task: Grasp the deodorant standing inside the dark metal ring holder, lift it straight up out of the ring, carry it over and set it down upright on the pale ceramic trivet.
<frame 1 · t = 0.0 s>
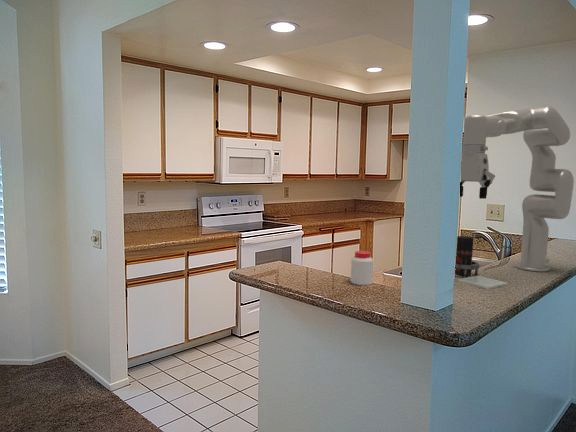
hand: (470, 197, 161), 31 cm above the countertop, fingers open, 9 cm apart
pill bottle: (361, 282, 160), on the countertop
deodorant: (462, 275, 174), on the countertop
ring stand: (462, 274, 174), on the countertop
trivet: (482, 283, 162), on the countertop
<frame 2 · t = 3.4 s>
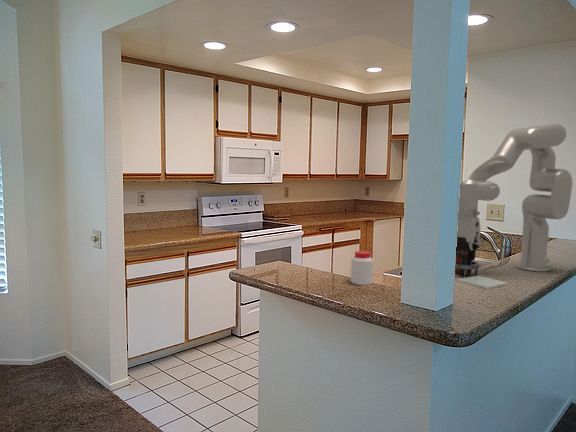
hand: (463, 258, 174), 7 cm above the countertop, fingers closed on deodorant, 6 cm apart
deodorant: (462, 275, 174), on the countertop, touching gripper
everything else where it was.
when the fingers open (8 cm above the countertop, at t = 10.4 s): deodorant stays where it is, resting on trivet.
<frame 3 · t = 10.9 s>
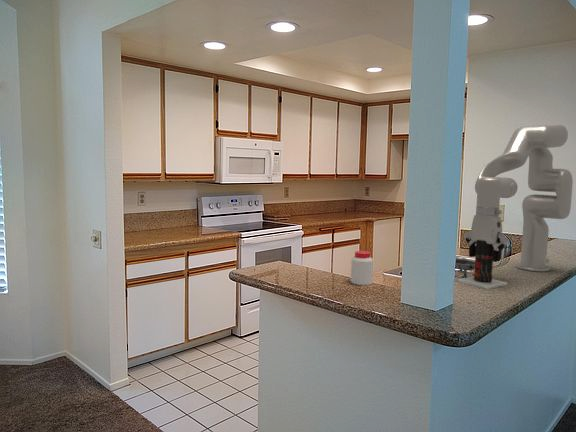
hand: (484, 258, 161), 9 cm above the countertop, fingers open, 9 cm apart
deodorant: (482, 281, 162), point 1 cm above the countertop, touching trivet
everything else where it was.
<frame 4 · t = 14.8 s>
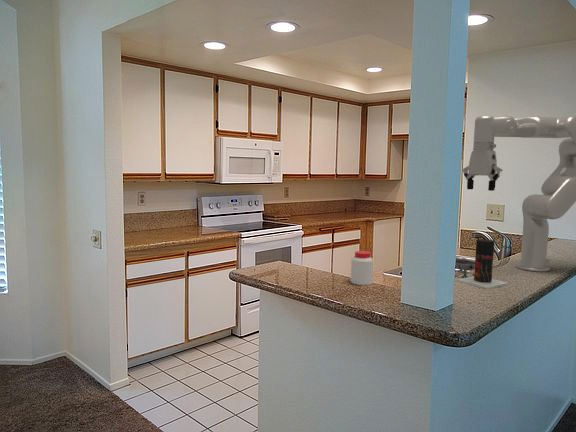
hand: (480, 189, 180), 33 cm above the countertop, fingers open, 9 cm apart
nothing on the countertop moved.
at the end: deodorant inside the target area on the trivet (0.2 cm from its centre), point 0.7 cm above the trivet's base; deodorant tilted 0°; deodorant touching trivet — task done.
